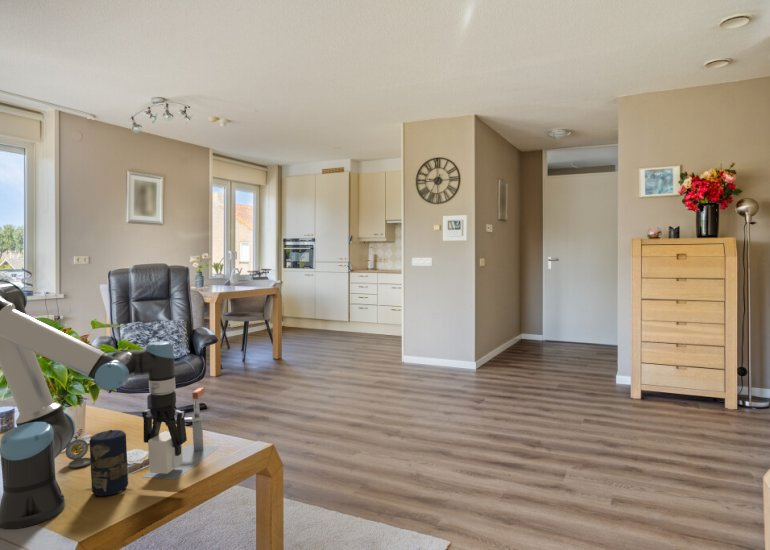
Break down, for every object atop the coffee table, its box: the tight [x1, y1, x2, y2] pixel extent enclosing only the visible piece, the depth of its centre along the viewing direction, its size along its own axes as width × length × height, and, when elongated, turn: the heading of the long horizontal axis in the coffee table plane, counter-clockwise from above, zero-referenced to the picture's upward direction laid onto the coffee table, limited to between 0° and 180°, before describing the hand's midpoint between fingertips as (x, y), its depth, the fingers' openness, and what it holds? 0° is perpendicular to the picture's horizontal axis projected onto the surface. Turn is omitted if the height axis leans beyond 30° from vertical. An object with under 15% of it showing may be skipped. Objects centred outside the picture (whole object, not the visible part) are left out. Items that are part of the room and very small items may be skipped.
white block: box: [147, 430, 183, 474], centre depth 158 cm, size 8×6×10 cm
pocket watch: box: [65, 431, 90, 469], centre depth 170 cm, size 8×8×10 cm
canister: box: [89, 429, 129, 497], centre depth 149 cm, size 10×10×18 cm
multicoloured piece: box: [175, 387, 205, 423], centre depth 177 cm, size 9×7×10 cm
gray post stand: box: [141, 419, 221, 480], centre depth 167 cm, size 26×12×11 cm, turn 169°
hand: (166, 464), depth 158 cm, fingers closed on white block, 6 cm apart
